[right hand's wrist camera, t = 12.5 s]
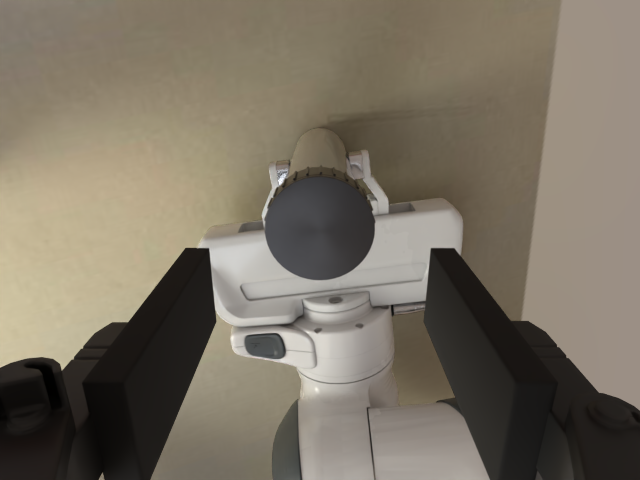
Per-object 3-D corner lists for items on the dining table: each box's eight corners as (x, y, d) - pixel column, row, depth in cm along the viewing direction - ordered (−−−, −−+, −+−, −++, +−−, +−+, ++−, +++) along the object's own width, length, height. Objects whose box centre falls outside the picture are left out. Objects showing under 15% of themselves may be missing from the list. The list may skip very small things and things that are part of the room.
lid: (347, 277, 23) (349, 296, 21) (254, 242, 22) (247, 259, 20) (388, 188, 21) (395, 200, 19) (289, 148, 20) (286, 156, 18)
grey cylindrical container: (333, 185, 39) (345, 284, 21) (287, 167, 39) (258, 252, 20) (352, 139, 38) (384, 201, 19) (305, 119, 37) (291, 164, 19)
